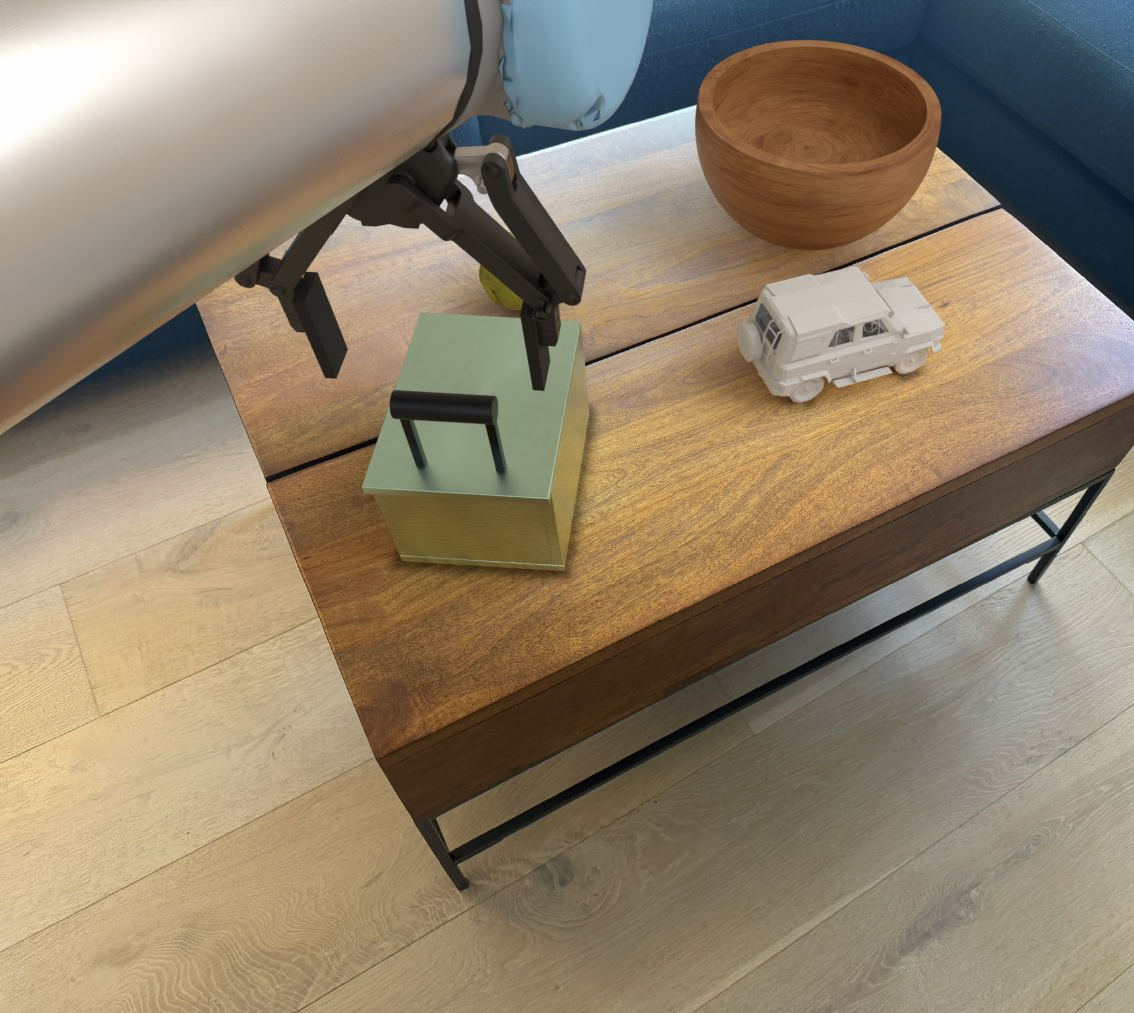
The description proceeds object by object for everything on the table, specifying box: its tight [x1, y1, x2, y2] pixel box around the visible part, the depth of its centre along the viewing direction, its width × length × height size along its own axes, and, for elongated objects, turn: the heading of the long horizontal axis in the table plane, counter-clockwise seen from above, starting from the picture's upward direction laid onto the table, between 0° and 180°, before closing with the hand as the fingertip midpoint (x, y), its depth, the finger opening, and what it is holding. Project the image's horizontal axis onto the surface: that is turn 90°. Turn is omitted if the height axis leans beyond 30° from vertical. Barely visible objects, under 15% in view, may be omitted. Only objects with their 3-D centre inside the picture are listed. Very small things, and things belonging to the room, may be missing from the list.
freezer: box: [372, 328, 590, 572], centre depth 76 cm, size 18×14×11 cm
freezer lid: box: [361, 312, 582, 505], centre depth 68 cm, size 19×14×8 cm
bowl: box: [694, 39, 942, 251], centre depth 97 cm, size 25×25×15 cm
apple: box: [478, 231, 523, 311], centre depth 92 cm, size 8×9×8 cm
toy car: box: [736, 261, 946, 404], centre depth 86 cm, size 10×20×10 cm, turn 111°
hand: (439, 370), depth 59 cm, fingers open, 13 cm apart
